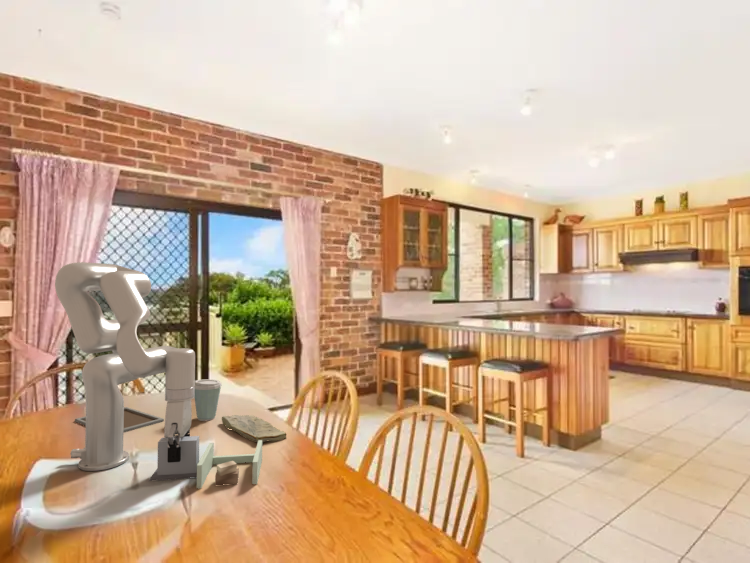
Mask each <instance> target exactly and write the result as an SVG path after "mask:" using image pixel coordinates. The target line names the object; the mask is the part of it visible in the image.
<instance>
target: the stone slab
mask: <svg viewBox="0 0 750 563" xmlns="http://www.w3.org/2000/svg"><path fill="white" fill-rule="evenodd" d="M221 422H222V424H223V426H225V425H226V426H225V428H226V427H227V428H229V429H232V430H235V431H234V432H236V433H237V434H239V435H240V434H241V436H242V437H243V436H244V438H245V437H246V439H247V438H248V440H249V439H250V441H251V442H255V441H256V442H255V443H258V440H262V444H263V443H264V442H278V441H281V440H284V438H285V439H287V434H288V433H287V432H286V431H284V430H280V429H278V428H276V426H273V425H272V423H270V422H268V421H266V420H264V419H263V418H260V417H257V416H256V415H253V414H251V415H250V414H249V415H248V414H246V415H245V414H243V415H241V414H234V415H225V416H221ZM227 428H226V429H227ZM232 430H231V431H232ZM267 440H269V441H267ZM277 440H278V441H277Z"/></svg>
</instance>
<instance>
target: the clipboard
mask: <svg viewBox="0 0 750 563" xmlns="http://www.w3.org/2000/svg"><path fill="white" fill-rule="evenodd" d="M74 422H75V423H78V424H80V425H83V426H85V427H86V415H85V416H82V417H78V418H75V419H74ZM163 422H165V418H163V417H159V416H157V415H154V414H151V413H148V412H147V413H146V412H143V411H140V410H137V409H134V408H132V407H128V406H124V433H127V432H131V431H134V430H138V429H141V428H142V429H143V428H145V427H149V426H152V425H156V424H159V423H163Z"/></svg>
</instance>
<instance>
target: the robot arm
mask: <svg viewBox="0 0 750 563" xmlns="http://www.w3.org/2000/svg"><path fill="white" fill-rule="evenodd" d="M54 287H55V288H54V289H55V293H56V296H57V299H58V300H59V302H60V304H61V305H62V307H63V309H64V310H65V313H66V315H67V317H68V321H69V323H70V325H71V328H72V332H73V335H74V337H75V340H76V343H77V345H78V348H79V349H80V351H81V352H83V353H85V354H97V353H99V354H100V353H104V352H110V351H111V352H112V353H108V354H103V355H99V356H96V357H92V358H91V359H90V360H88V361H87V362H86V363H85V364H84V366H83V368H82V372H81V377H82V382H83V387H84V391H85V392H84V393H85V416H86V426H85V438H84V439H85V440H84V441H85V444H84V446H85V447H83V448H73V449H71V451H70V454H69V455H70V459H80V460H79V461H78V468H79V469H80V470H82V471H87V472H95V471H97V472H98V471H105V470H108V469H112V468H115V467H118V466H121V465H123V464H126V462H127V461H129V459H130V453H129V451H126V450H124V435H125V432H124V407H125V400H124V396H123V394H122V392H121V391H120V388H119V387H118V386H120V385H122V384H125V383H130V382H132V381H135V380H138V379H139V378H143V379H144V378H147V377H151V376H155V375H158V374H165V376H164V378H165V381H164V382H165V385H164V387H165V390H164V401H166V402H167V403H166V409H165V418H164V432H163V434H164V436H163V438H168V463H171V462H180V461H181V446H180V441H181V438H182V437H187V436H191V427H192V418H193V417H192V415H193V414H192V409H193V408H192V400H194V399H195V398H194V397H195V381H196V352H195V351H194V349H192V348H184V347H181V348H177V347H174V346H171V345H162V346H154V347H150V348H144V347H143V346H142V344H141V342H140V341H139V337H138V335H137V329H138V326H140V325H141V324H143V323H144V322H146V321H147V320H148V319H149V317H150V315H151V311H150V309H149V307H148V306H147V304H146V302H145V300H144V298H145V297H147V296H148V295H150V292H151V290H152V282H151V279H150V278H149V277H148V276H147V275H146V274H145V273H143V272H141V271H138V270H135V269H132V268H129V267H125V266H121V265H118V264H112V263H97V262H85V261H83V262H80V261H79V262H70V263H68V264H65V265H63V266H62V267H60V268H59V270H58V271H57V273H56V276H55V281H54ZM88 291H89V292H90V291H96V292H97V291H101V293H102V295H103V296H104V299H105V301H106V302H107V304H108V306H109V308H110V309H111V312H112V314H113V316H114V317H115V319H106V316H105V315H104V313H103V311H102V307H101V305H100V304H99V302H98V301H97V300H96V299H95V298H94V297H93V296H92V295H90V294H89V293H88ZM174 439H178V440H177V441H176V440H174Z"/></svg>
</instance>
